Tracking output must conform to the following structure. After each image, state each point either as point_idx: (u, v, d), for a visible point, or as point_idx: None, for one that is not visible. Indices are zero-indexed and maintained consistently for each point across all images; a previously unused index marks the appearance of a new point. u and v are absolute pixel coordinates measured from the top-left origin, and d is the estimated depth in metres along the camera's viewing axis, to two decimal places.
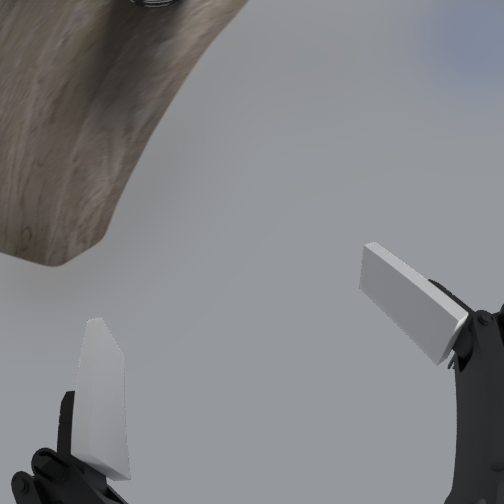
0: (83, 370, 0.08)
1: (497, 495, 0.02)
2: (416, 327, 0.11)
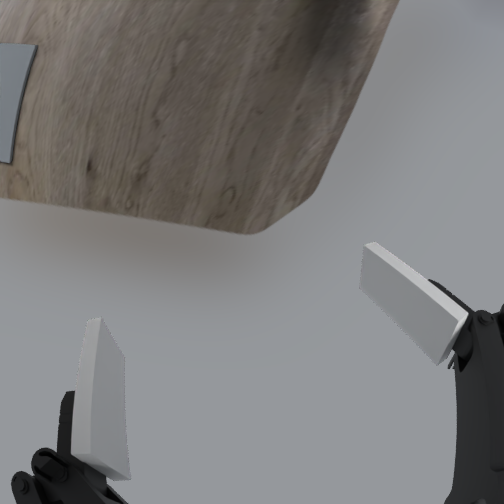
0: (83, 370, 0.08)
1: (497, 495, 0.02)
2: (416, 327, 0.11)
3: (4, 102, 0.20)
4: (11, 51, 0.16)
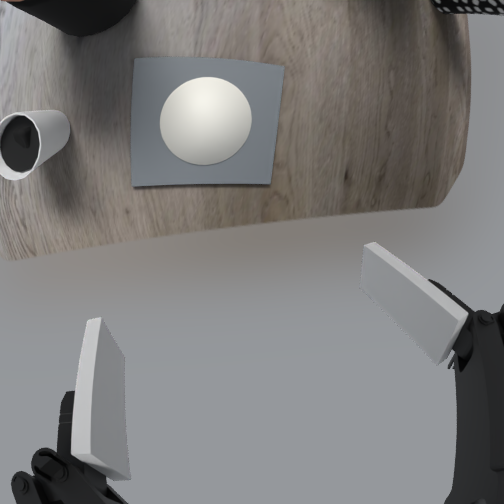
0: (83, 370, 0.08)
1: (497, 495, 0.02)
2: (416, 327, 0.11)
3: (258, 122, 0.32)
4: (255, 69, 0.29)
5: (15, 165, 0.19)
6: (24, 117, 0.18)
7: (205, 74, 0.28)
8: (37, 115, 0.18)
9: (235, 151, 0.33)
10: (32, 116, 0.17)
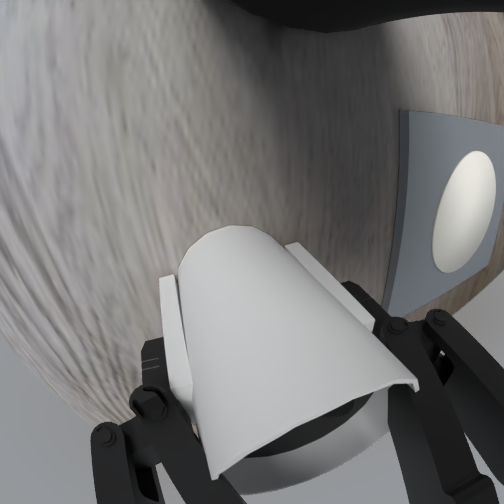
0: (168, 316, 0.11)
1: None
2: None
3: (496, 202, 0.20)
4: (500, 136, 0.16)
5: (279, 449, 0.08)
6: None
7: (474, 147, 0.15)
8: (360, 330, 0.07)
9: (479, 243, 0.21)
10: (389, 360, 0.06)
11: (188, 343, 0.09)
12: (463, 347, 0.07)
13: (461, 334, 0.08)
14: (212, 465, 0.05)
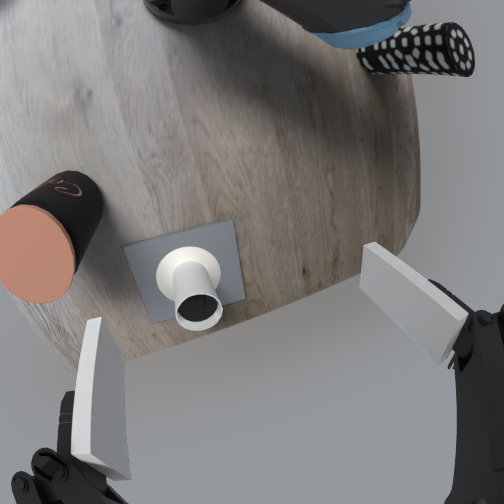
0: (83, 370, 0.08)
1: (497, 495, 0.02)
2: (416, 327, 0.11)
3: (225, 265, 0.48)
4: (211, 231, 0.44)
5: (194, 319, 0.40)
6: None
7: (176, 246, 0.44)
8: (206, 286, 0.39)
9: (214, 288, 0.49)
10: (208, 291, 0.38)
11: (174, 290, 0.41)
12: None
13: None
14: (176, 308, 0.37)
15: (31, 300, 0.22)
